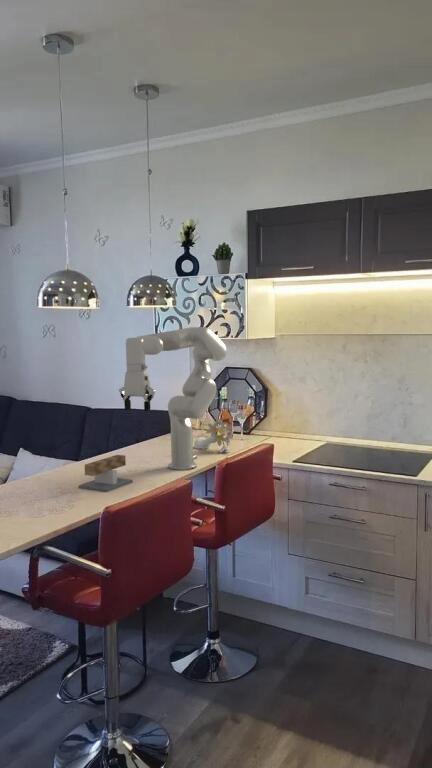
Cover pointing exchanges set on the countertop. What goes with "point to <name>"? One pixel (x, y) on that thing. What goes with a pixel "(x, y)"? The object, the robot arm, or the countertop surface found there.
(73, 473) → the countertop surface
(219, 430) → the flower vase
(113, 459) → the walnut bar
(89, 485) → the slate board
